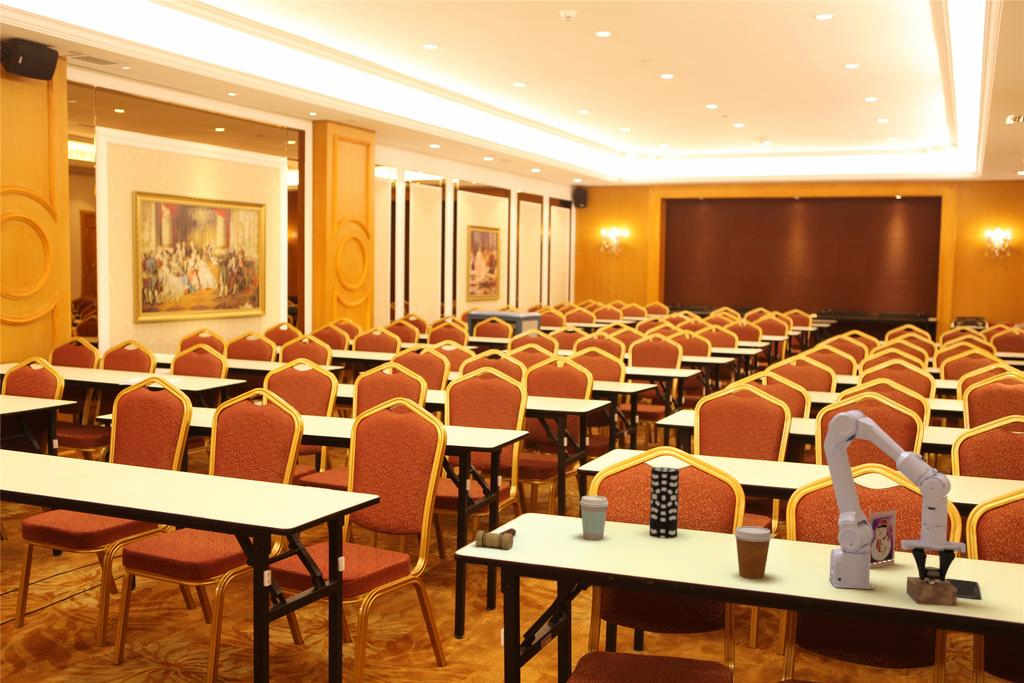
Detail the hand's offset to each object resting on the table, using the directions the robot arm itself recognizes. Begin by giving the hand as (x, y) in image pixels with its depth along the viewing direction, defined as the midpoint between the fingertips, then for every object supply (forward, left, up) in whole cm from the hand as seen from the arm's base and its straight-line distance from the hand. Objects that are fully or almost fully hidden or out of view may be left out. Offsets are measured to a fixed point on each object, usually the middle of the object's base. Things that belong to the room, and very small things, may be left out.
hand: (931, 579), depth 245 cm
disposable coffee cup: (-41, +14, -5) cm, 43 cm away
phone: (+10, +10, -5) cm, 15 cm away
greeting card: (-6, +33, -5) cm, 33 cm away
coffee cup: (-83, +48, -5) cm, 96 cm away
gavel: (-109, +38, -5) cm, 116 cm away
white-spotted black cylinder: (-62, +56, -5) cm, 83 cm away
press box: (0, 0, -5) cm, 5 cm away
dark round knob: (0, 0, -5) cm, 5 cm away
